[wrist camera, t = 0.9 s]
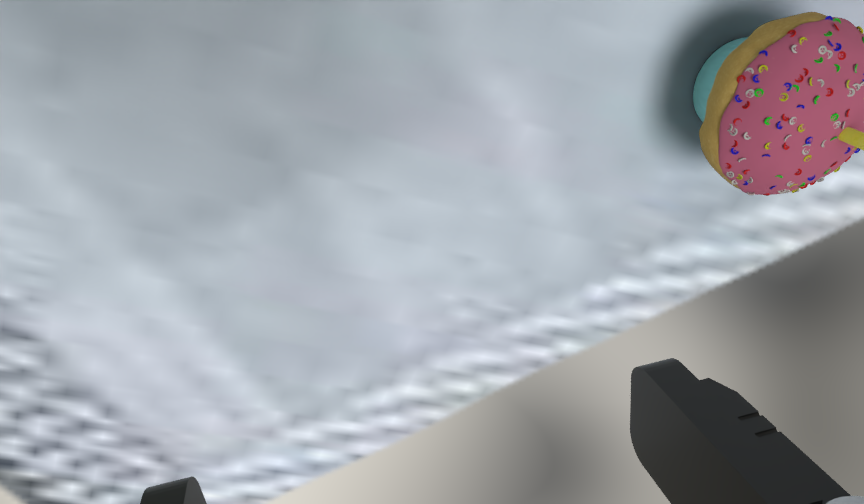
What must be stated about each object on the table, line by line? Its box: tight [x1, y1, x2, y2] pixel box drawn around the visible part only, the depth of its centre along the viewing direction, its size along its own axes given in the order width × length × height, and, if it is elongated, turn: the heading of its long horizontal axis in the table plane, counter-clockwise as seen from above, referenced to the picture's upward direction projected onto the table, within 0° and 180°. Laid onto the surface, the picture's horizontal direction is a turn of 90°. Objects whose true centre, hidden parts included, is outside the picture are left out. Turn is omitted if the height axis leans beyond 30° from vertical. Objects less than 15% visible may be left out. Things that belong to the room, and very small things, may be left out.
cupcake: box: [693, 12, 864, 196], centre depth 28 cm, size 9×8×12 cm
